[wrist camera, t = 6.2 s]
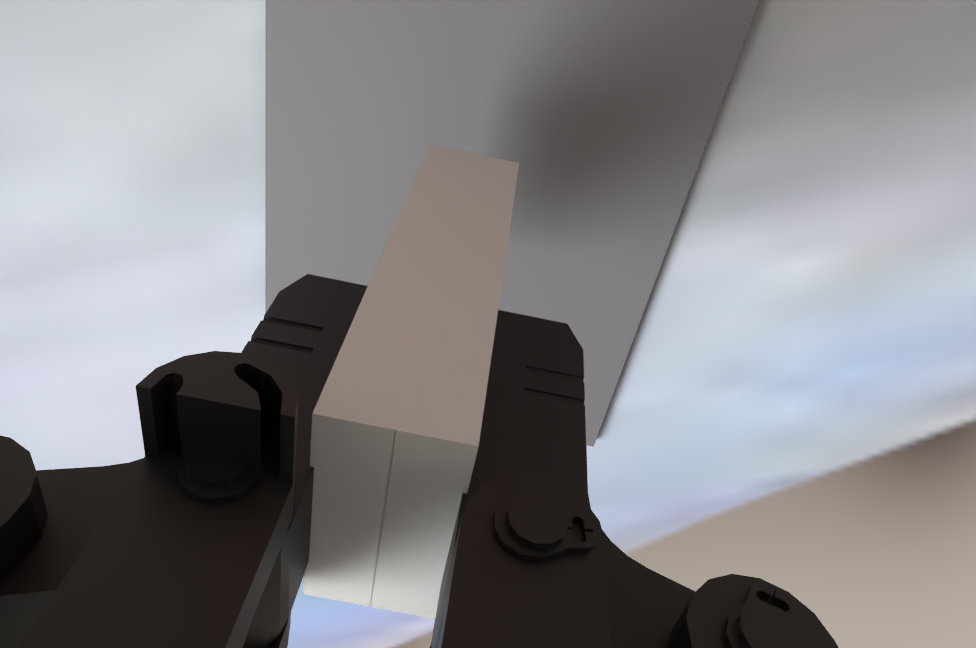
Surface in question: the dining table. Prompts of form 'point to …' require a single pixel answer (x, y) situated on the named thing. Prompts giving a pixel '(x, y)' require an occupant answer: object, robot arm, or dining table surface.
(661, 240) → the grey flat board
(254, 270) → the dining table surface
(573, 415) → the robot arm
